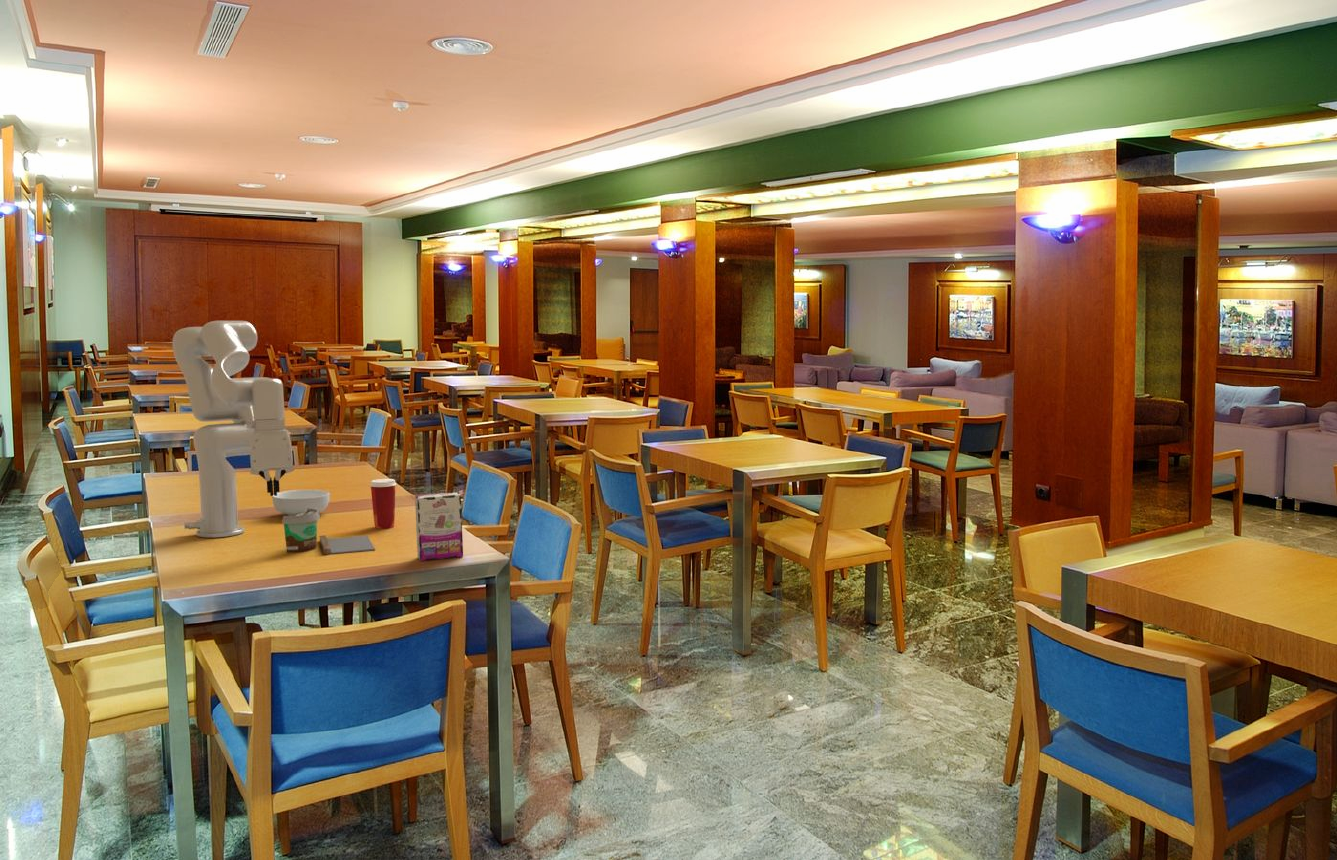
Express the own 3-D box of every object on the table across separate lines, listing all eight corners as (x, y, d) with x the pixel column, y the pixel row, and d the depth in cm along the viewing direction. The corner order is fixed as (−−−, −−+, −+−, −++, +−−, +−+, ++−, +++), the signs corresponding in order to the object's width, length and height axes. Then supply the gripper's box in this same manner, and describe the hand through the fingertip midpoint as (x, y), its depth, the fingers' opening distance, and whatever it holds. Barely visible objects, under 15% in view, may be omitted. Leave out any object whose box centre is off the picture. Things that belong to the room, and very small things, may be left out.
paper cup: (403, 525, 292) (401, 479, 291) (385, 530, 285) (384, 483, 284) (382, 523, 296) (381, 477, 294) (365, 528, 289) (363, 481, 287)
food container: (304, 554, 255) (303, 517, 254) (283, 553, 256) (281, 516, 255) (330, 544, 267) (328, 508, 266) (309, 543, 268) (308, 507, 267)
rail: (324, 554, 255) (324, 549, 255) (319, 541, 271) (319, 535, 271) (330, 554, 255) (330, 548, 255) (325, 540, 272) (325, 535, 272)
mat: (331, 554, 255) (331, 552, 255) (326, 540, 272) (326, 539, 272) (374, 550, 260) (374, 548, 260) (367, 537, 276) (367, 535, 276)
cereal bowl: (284, 523, 297) (283, 500, 296) (265, 515, 309) (264, 493, 309) (338, 515, 308) (338, 493, 307) (318, 508, 320) (317, 487, 320)
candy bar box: (459, 553, 256) (458, 491, 254) (463, 557, 252) (462, 494, 250) (416, 557, 252) (414, 494, 250) (419, 561, 247) (417, 497, 245)
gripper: (238, 428, 248) (242, 499, 250) (300, 425, 254) (304, 495, 256) (238, 426, 255) (242, 495, 257) (299, 423, 261) (303, 491, 263)
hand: (273, 495), depth 256 cm, fingers closed
